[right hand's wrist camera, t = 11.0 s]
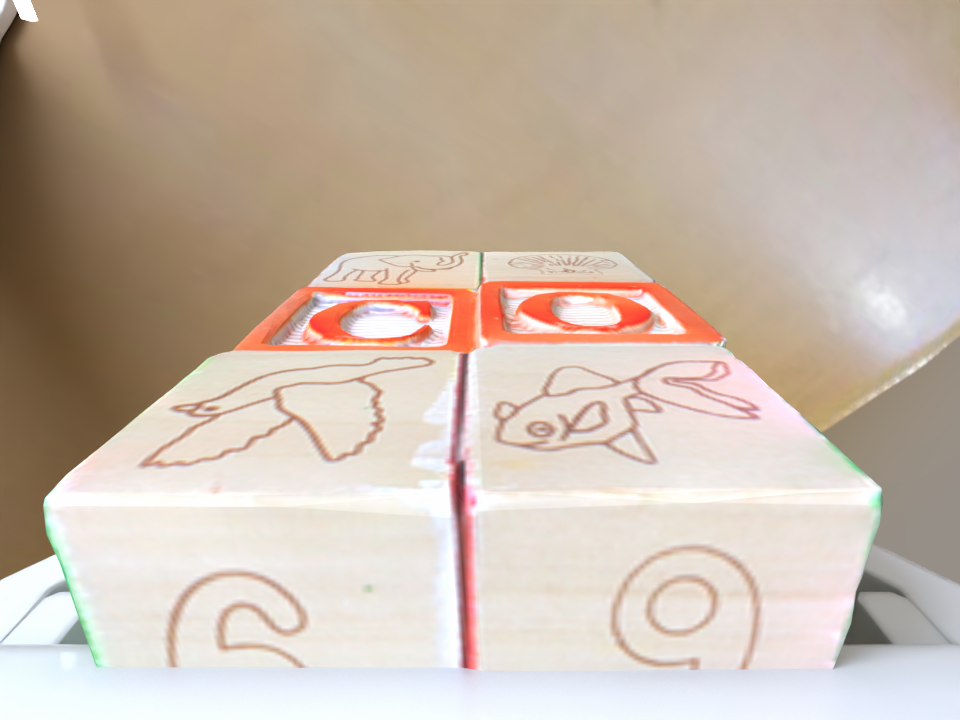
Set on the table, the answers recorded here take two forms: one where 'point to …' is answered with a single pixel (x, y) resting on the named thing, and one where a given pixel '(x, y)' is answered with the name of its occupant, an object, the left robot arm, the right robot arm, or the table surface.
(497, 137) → the table surface
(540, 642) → the stack of blocks
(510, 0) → the table surface
